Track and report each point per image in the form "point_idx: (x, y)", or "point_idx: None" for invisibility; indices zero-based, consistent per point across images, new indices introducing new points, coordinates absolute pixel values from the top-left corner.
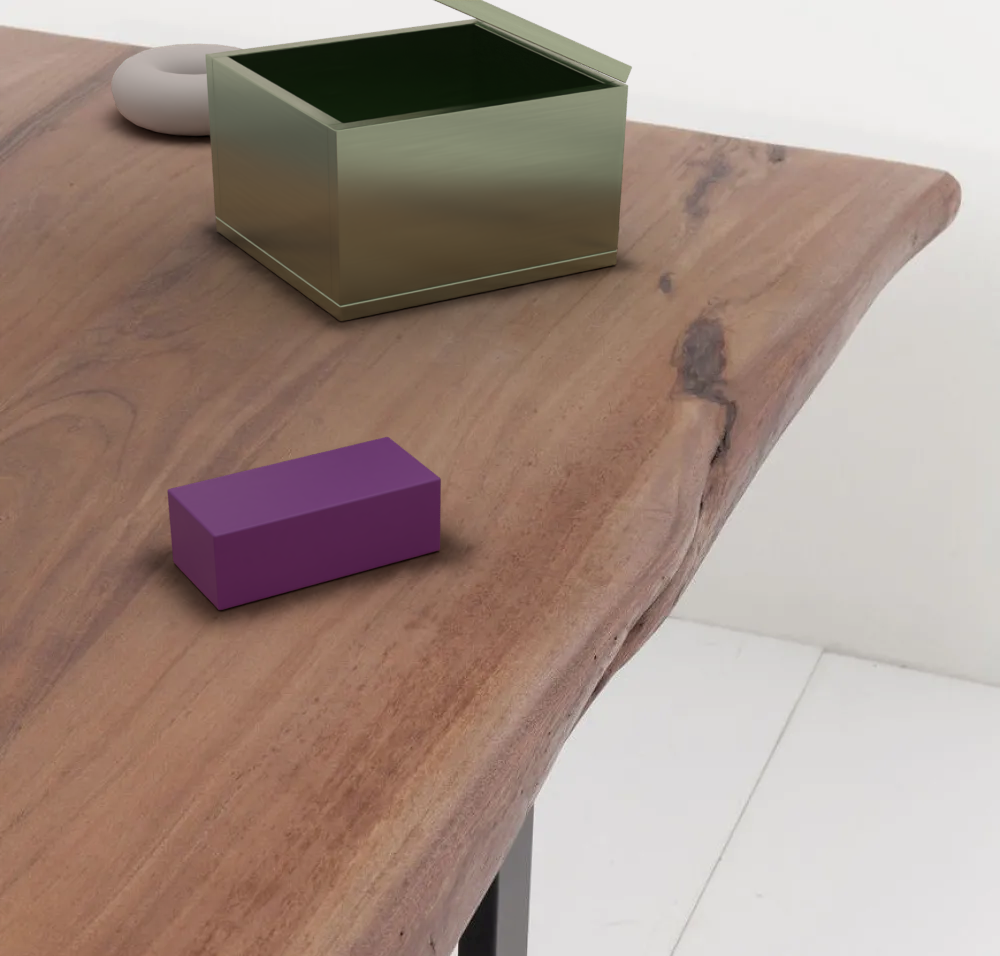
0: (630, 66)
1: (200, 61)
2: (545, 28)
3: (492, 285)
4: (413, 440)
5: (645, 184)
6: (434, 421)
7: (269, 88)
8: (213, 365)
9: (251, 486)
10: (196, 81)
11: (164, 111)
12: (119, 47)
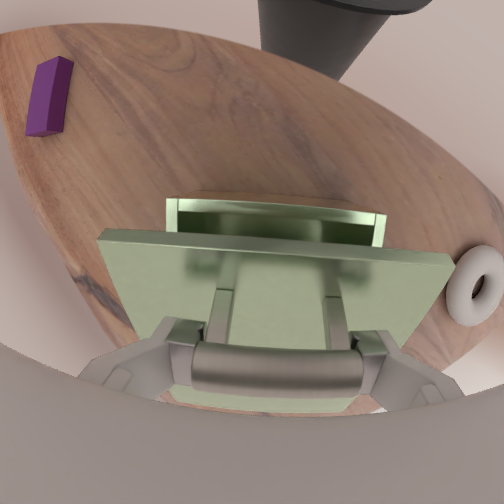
0: (175, 400)
1: (488, 298)
2: None
3: None
4: (90, 160)
5: None
6: (98, 175)
7: (281, 207)
8: (187, 114)
9: (47, 79)
10: (469, 277)
11: (467, 255)
12: None
